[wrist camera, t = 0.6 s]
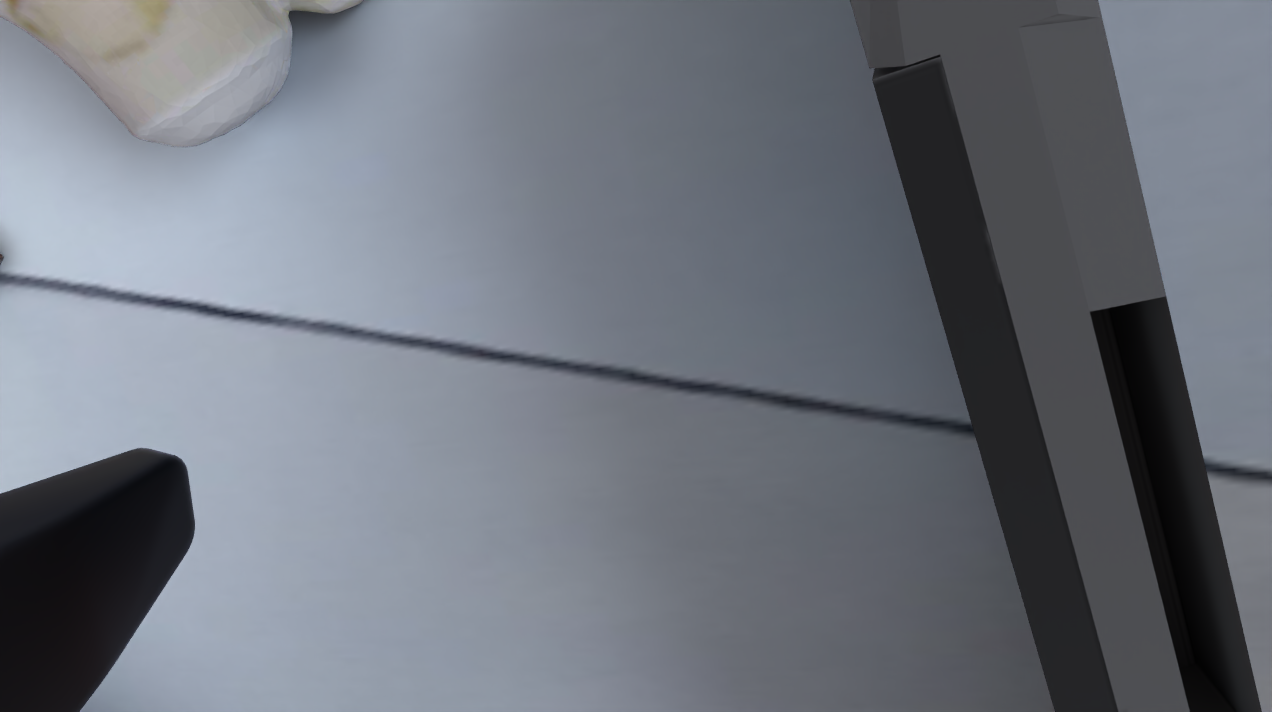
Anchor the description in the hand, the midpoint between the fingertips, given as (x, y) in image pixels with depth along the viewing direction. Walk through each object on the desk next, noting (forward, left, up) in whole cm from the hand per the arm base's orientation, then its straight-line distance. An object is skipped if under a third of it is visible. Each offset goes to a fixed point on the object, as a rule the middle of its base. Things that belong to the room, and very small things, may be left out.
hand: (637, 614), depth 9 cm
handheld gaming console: (+2, -4, -14) cm, 15 cm away
